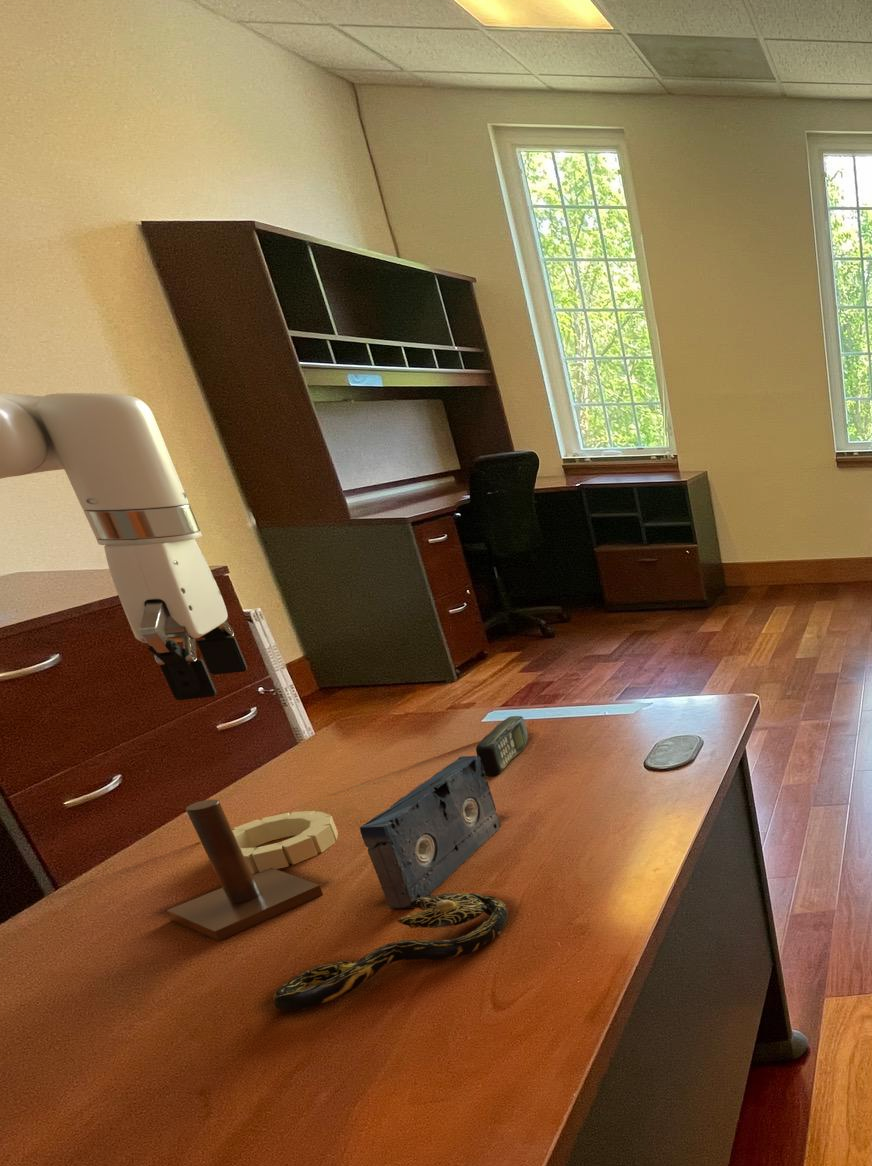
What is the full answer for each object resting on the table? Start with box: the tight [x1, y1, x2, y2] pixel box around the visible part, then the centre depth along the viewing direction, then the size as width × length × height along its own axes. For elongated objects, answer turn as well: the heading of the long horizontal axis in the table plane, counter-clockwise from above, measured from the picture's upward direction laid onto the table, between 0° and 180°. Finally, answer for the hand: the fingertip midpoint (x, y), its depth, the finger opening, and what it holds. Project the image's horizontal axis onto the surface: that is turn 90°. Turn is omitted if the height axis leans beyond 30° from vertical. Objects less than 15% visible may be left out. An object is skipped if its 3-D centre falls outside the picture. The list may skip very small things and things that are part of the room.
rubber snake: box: [273, 892, 509, 1012], centre depth 75 cm, size 18×5×10 cm
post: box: [166, 799, 324, 942], centre depth 81 cm, size 9×9×12 cm
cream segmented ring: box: [231, 810, 339, 875], centre depth 93 cm, size 11×11×2 cm
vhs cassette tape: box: [359, 755, 502, 910], centre depth 89 cm, size 18×3×10 cm, turn 4°
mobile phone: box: [475, 715, 529, 776], centre depth 119 cm, size 5×3×15 cm
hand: (214, 684), depth 87 cm, fingers open, 9 cm apart
